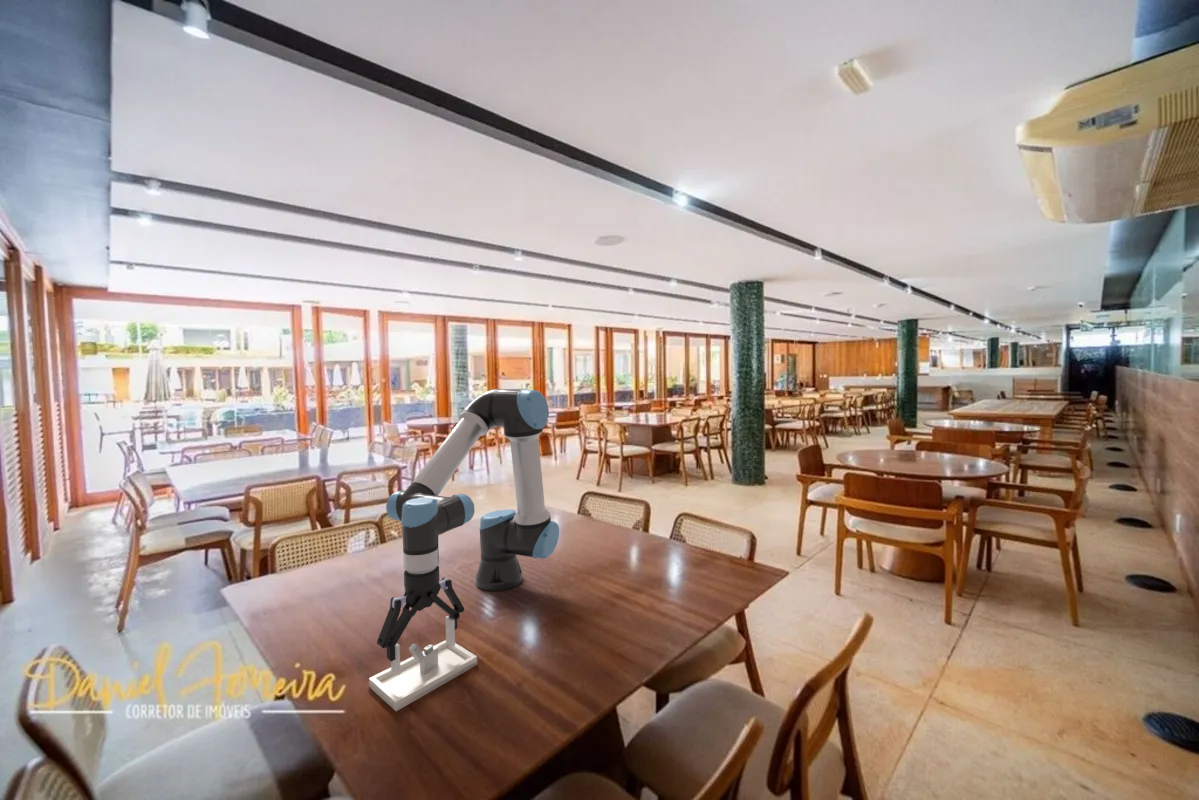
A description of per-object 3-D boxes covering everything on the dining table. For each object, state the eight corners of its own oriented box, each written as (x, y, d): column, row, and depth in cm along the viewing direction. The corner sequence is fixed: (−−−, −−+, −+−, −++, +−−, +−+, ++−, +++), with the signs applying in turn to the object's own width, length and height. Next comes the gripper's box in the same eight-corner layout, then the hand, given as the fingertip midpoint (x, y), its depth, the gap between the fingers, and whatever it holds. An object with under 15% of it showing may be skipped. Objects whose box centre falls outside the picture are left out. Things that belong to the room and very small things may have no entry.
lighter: (433, 662, 113) (432, 630, 112) (438, 664, 112) (437, 631, 111) (409, 680, 106) (407, 645, 106) (414, 682, 106) (413, 647, 105)
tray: (448, 646, 121) (448, 638, 121) (477, 664, 113) (476, 656, 113) (369, 687, 105) (368, 678, 105) (396, 711, 98) (395, 702, 98)
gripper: (459, 547, 120) (461, 628, 121) (357, 582, 100) (361, 678, 102) (477, 554, 115) (479, 639, 116) (374, 592, 96) (378, 693, 97)
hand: (424, 657), depth 109 cm, fingers open, 13 cm apart
